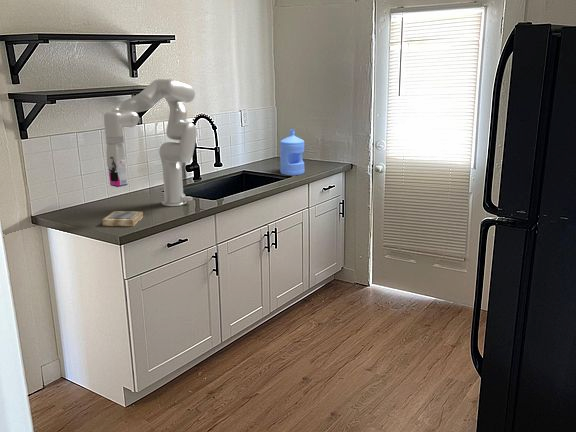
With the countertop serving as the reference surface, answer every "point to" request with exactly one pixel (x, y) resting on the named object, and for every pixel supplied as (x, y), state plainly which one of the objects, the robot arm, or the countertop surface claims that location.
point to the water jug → (292, 155)
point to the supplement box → (120, 175)
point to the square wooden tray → (122, 218)
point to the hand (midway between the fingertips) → (118, 178)
